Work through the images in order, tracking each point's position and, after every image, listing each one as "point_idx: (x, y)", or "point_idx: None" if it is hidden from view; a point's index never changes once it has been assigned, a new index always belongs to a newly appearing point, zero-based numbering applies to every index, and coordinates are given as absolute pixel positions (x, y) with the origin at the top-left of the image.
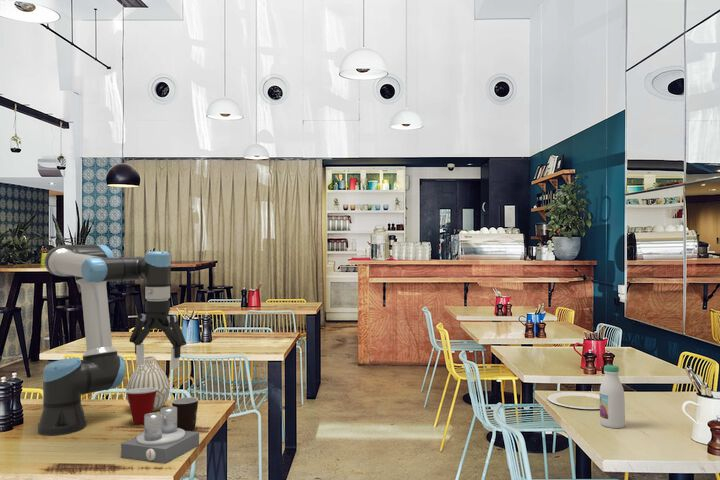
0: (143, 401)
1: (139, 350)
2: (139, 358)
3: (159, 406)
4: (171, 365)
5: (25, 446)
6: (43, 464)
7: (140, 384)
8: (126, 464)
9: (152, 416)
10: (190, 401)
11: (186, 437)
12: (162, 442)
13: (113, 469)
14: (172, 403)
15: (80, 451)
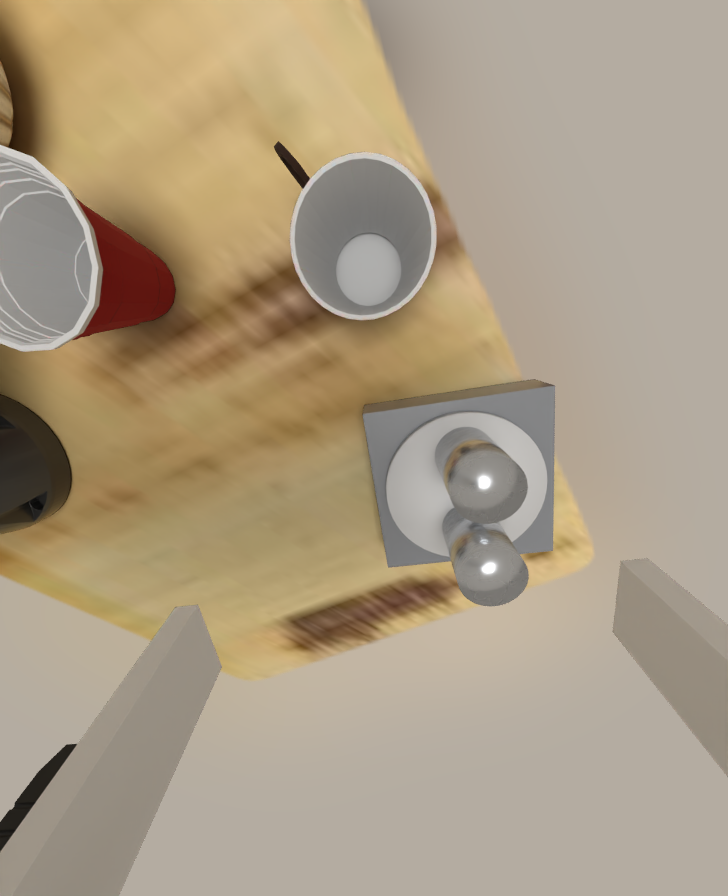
0: (119, 305)
1: (117, 864)
2: (183, 726)
3: (6, 79)
4: (644, 664)
5: (98, 586)
6: (264, 635)
7: None
8: (442, 569)
9: (508, 593)
10: (342, 177)
11: (545, 448)
12: (519, 533)
13: (438, 598)
14: (333, 312)
15: (253, 556)
